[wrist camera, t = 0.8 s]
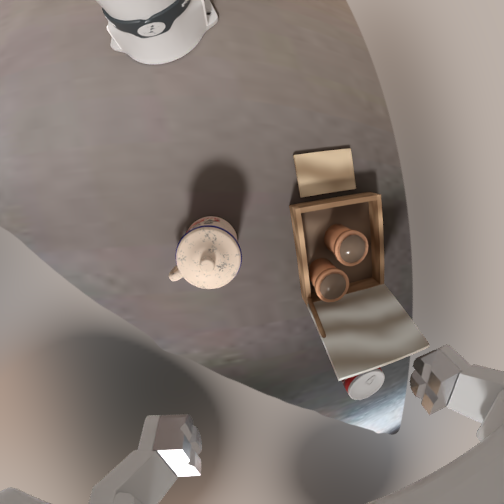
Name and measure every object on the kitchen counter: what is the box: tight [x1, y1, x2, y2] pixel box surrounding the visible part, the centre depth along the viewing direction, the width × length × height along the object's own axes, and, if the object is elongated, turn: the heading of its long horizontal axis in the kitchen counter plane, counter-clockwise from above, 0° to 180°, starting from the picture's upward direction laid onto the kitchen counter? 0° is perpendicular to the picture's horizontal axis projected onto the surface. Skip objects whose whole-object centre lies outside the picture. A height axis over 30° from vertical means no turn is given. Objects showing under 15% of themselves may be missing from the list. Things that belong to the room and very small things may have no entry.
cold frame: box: [289, 192, 430, 381], centre depth 40 cm, size 20×15×20 cm
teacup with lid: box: [169, 216, 242, 289], centre depth 41 cm, size 12×9×12 cm
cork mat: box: [293, 148, 356, 197], centre depth 44 cm, size 7×10×1 cm
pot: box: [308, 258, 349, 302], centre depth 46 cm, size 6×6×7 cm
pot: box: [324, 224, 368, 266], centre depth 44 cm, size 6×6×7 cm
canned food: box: [341, 367, 385, 400], centre depth 51 cm, size 8×8×11 cm
